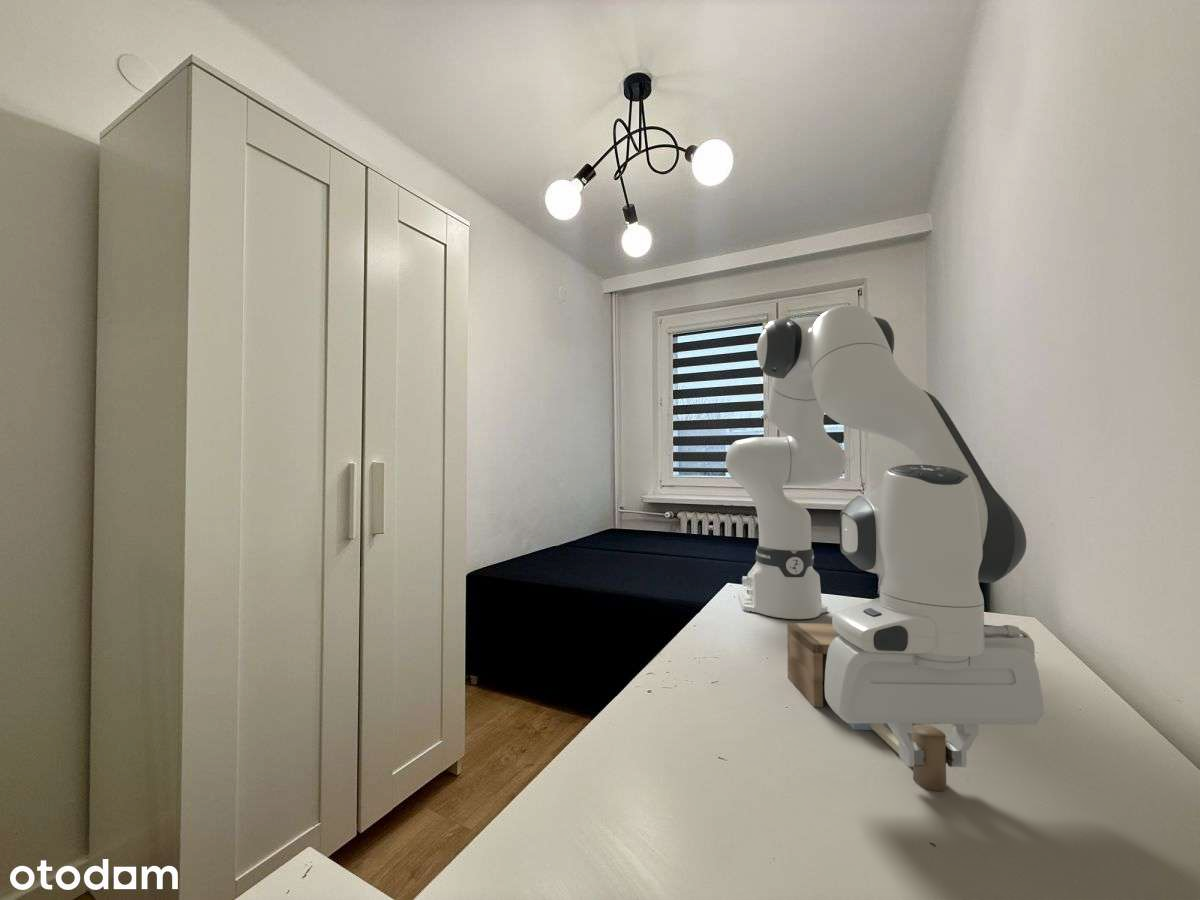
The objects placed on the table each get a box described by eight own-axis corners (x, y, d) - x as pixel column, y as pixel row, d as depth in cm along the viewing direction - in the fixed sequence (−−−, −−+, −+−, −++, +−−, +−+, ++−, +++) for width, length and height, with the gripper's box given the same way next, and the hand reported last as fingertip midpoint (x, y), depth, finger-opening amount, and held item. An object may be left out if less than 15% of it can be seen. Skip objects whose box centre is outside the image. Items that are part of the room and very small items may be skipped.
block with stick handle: (833, 709, 65) (833, 671, 65) (871, 710, 65) (871, 671, 65) (913, 791, 49) (913, 739, 49) (964, 791, 49) (963, 739, 49)
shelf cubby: (787, 677, 75) (787, 623, 75) (852, 678, 75) (852, 623, 75) (813, 706, 66) (813, 644, 66) (888, 707, 66) (887, 645, 66)
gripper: (1006, 616, 53) (1009, 747, 53) (817, 614, 53) (818, 745, 53) (1060, 635, 47) (1065, 784, 47) (846, 633, 47) (847, 782, 47)
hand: (932, 763), depth 50 cm, fingers closed on block with stick handle, 3 cm apart
